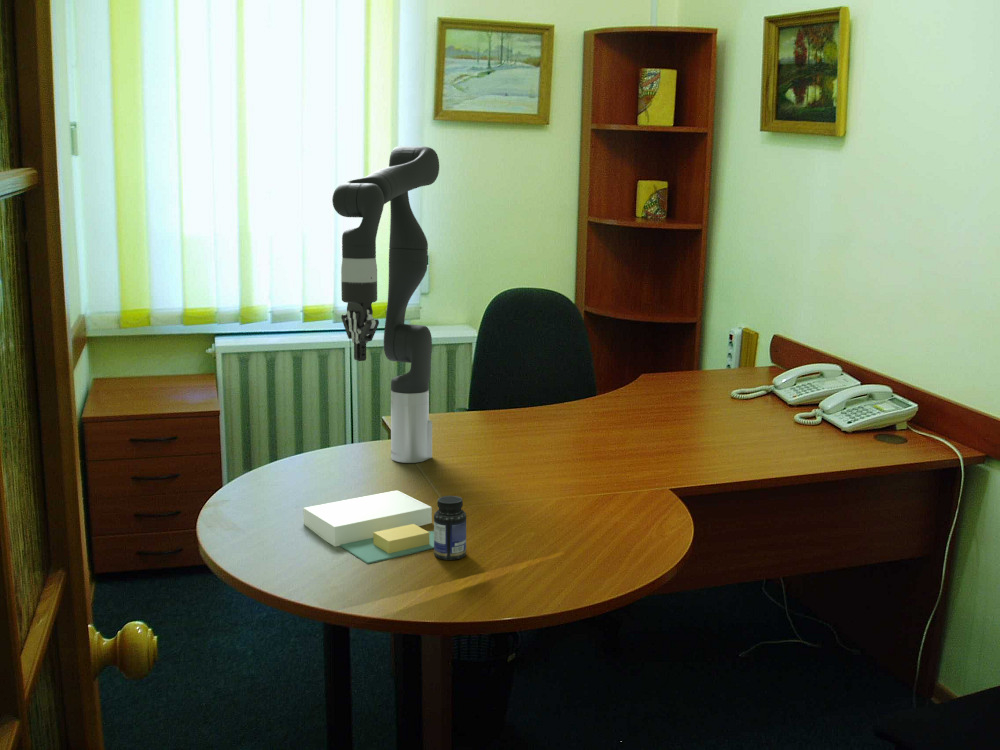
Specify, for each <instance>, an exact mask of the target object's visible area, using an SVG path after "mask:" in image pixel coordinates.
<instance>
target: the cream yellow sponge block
mask: <svg viewBox="0 0 1000 750" xmlns="http://www.w3.org/2000/svg"><path fill="white" fill-rule="evenodd" d="M428 531H429V530H425V529H424V528H422V527H421V526H417V525H415V524H410V525H406V526H401V527H396V528H391V529H387V530H382V531H377V532H373V540H374V545H376V546H377V547H379V548H381V549H382V550H384V551H386V552H387V553H393V552H398V551H402V550H406V549H411V548H415V547H420V546H424V545H428V544H429V538H430V532H428Z"/></svg>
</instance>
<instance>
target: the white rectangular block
mask: <svg viewBox="0 0 1000 750" xmlns="http://www.w3.org/2000/svg"><path fill="white" fill-rule="evenodd" d="M432 511H433V509H432V506H430V505H429V504H426V503H424V502H422V501H420V500H417V499H416V498H414V497H412V496H410V495H408V494H405V493H404V492H402V491H399V490H396V489H395V490H391V491H385V492H380V493H375V494H369V495H364V496H359V497H353V498H348V499H343V500H339V501H338V500H337V501H334V502H333V501H332V502H327V503H323V504H318V505H310V506H306V507H303V525H304V526H306V527H307V528H308V529H310V530H311V531H312V532H314V534H316V535H317V536H319V537H320V538H321V539H323V540H324V542H327V543H329V545H331V546H333V547H334V548H335V547H341V546H340V545H342V544H346V543H351V542H355V541H360V540H365V539H369V538H373V532H377V531H382V530H387V529H391V528H396V527H401V526H406V525H410V524H415V525H417V526H419V527H421V526H425V525H428V524H432V523H433V517H432V515H433V512H432Z"/></svg>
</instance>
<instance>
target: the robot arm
mask: <svg viewBox="0 0 1000 750" xmlns="http://www.w3.org/2000/svg"><path fill="white" fill-rule="evenodd" d="M439 173H440V160H439V156H438V153H437V151H436V150H435V149H433V148H432V147H430V146H423V145H420V146H417V145H415V146H414V145H412V146H408V145H406V146H405V145H403V146H401V145H400V146H394V148H393V149H392V150H391V152H390V154H389V161H388V166H387V167H383V168H380V169H377V170H375V171H374V172H371V173H370V174H368V175H366V176H365V177H361V178H355V179H350V180H347V181H344V182H342V183H340V184H339V185H338V186H337V187H336V188H335V190H334V191H333V195H332V201H331V202H332V207H333V209H334V210H335V212H336V214H338V215H340V216H341V217H343V218H362V219H361V222H360V225H359V226H358V227H355V228H351V229H350V228H349V229H347V230H344V231H343V233H342V235H341V236H342V237H341V250H342V251H341V256H342V258H341V260H342V261H341V267H340V269H341V270H340V274H341V275H340V276H341V277H340V279H341V280H340V281H341V282H340V284H341V285H340V286H341V290H340V291H341V301H342V302H343V303H347V304H346V305H347V306H346V312H345V314H341V321H342V324H343V326H344V330H345V332H346V335H347V339H349V340H351V343H353V359H354V361H356V362H363V361H366V360H367V344H368V342H372V341H373V339H374V337H375V334H376V331H377V329H378V327H379V325H380V321H379V319H378V318H377V319H374V317H373V315H374V314H373V313H374V311H373V305H372V304H373V303H376V302H377V301H378V268H377V267H378V266H377V265H378V264H377V259H376V258H377V246H376V245H377V244H376V242H377V234H378V230H379V225H380V222H381V218H382V214H383V211H384V207H385V204H387V203H389V202H390V203H389V204H390V221H389V222H390V226H389V228H390V229H389V231H390V232H389V242H388V243H389V246H388V248H389V249H388V291H387V292H388V293H387V306H386V314H385V322H384V332H383V350H384V351H383V352H384V355H385V357H386V359H387V360H389V361H391V362H399V363H409V364H410V368H409V371H407V372H406V373H404V374H401V375H397V376H394V377H392V379H391V380H390V459H391V460H392V461H394V462H398V463H402V464H415V463H416V464H417V463H422V462H424V461H428V460H429V459H432V458H433V421H432V420H431V419H430V411H429V410H430V402H429V401H430V399H429V398H430V393H429V392H430V380H431V368H432V351H433V347H432V346H433V339H432V333H431V330H430V329H429V328H428V326H426V325H422V324H421V325H420V324H408V323H405V322H406V321H405V320H406V311H407V307H408V304H409V302H410V301H411V298H412V296H413V295H414V293H415V291H416V290H417V289H418V287H419V286H420V284H421V282H423V281H422V280H423V279H424V277H425V275H426V274H427V269H428V257H429V256H428V255H429V254H428V252H429V251H428V248H429V243H428V239H427V237H426V234H425V233H424V230H423V229H422V227H421V225H420V223H419V221H418V220H417V217H415V215H414V212H413V210H412V207H411V204H410V198H409V192H410V191H412V190H415V189H417V188H421V187H425V186H426V187H427V186H431V185H432V184H434V183H435V181H437V178H438V176H439Z"/></svg>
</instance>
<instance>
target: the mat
mask: <svg viewBox="0 0 1000 750" xmlns="http://www.w3.org/2000/svg"><path fill="white" fill-rule="evenodd" d="M427 531H428V532H430V538H429V544H428V545H424V546H420V547H415V548H411V549H406V550H402V551H398V552H393V553H387V552H386V551H384V550H382V549H381V548H379V547H377V546H376V545H374V540H373V538H369V539H365V540H360V541H355V542H351V543H346V544H342V545H340V546H339V547H341V548H342V549H344V550H346V551H347V552H348V553H350V554H351V555H353V556H355V557H356V558H358V559H359V560H361V561H363V562H364V563H365V564H367V565H369V564H373V563H377V562H381V561H387V560H390V559H395V558H399V557H403V556H408V555H411V554H416V553H420V552H424V551H428V550H432V549H433V550H434V530H427Z"/></svg>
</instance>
